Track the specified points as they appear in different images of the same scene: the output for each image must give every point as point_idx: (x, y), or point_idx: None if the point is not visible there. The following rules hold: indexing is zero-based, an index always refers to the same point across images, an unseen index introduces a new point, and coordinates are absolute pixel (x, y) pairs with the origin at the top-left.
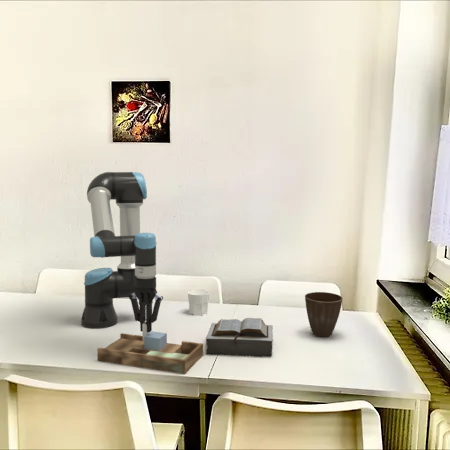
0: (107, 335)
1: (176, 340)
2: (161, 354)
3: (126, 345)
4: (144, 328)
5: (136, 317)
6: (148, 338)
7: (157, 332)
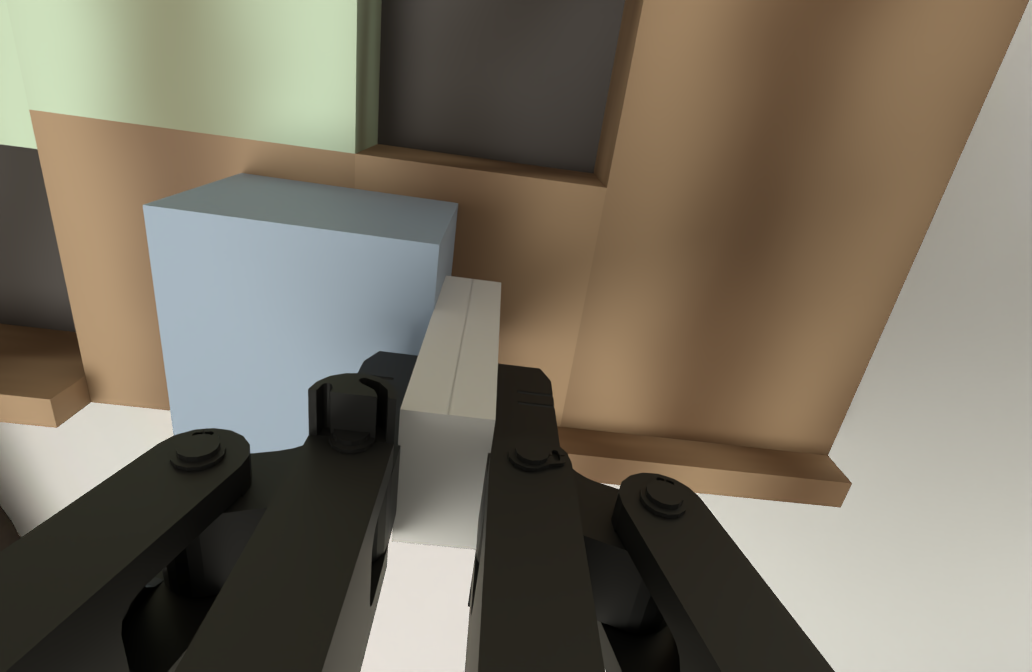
0: (943, 583)
1: None
2: (147, 40)
3: (709, 261)
4: (453, 366)
5: (681, 539)
6: (364, 228)
7: None
